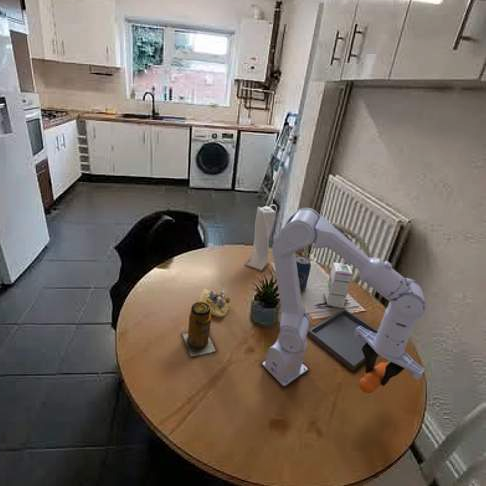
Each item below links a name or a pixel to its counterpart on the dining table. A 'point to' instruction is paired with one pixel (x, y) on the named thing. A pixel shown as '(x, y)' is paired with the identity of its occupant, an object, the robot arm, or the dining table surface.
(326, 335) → the gray tray
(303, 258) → the soda can
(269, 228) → the skyscraper
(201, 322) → the condiment
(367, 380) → the carrot
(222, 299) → the cake
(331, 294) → the syrup box
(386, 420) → the dining table surface
